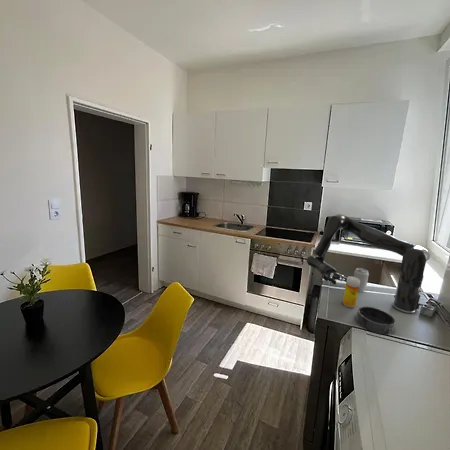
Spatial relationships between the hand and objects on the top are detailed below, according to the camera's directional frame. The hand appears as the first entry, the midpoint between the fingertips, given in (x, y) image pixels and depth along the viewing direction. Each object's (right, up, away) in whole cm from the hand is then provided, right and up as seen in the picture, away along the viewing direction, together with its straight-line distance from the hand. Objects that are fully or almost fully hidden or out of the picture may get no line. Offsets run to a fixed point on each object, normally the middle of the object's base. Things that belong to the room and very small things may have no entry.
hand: (342, 283), depth 133 cm
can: (+16, -7, +14) cm, 22 cm away
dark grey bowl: (+4, -14, -21) cm, 25 cm away
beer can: (0, -10, -6) cm, 12 cm away
